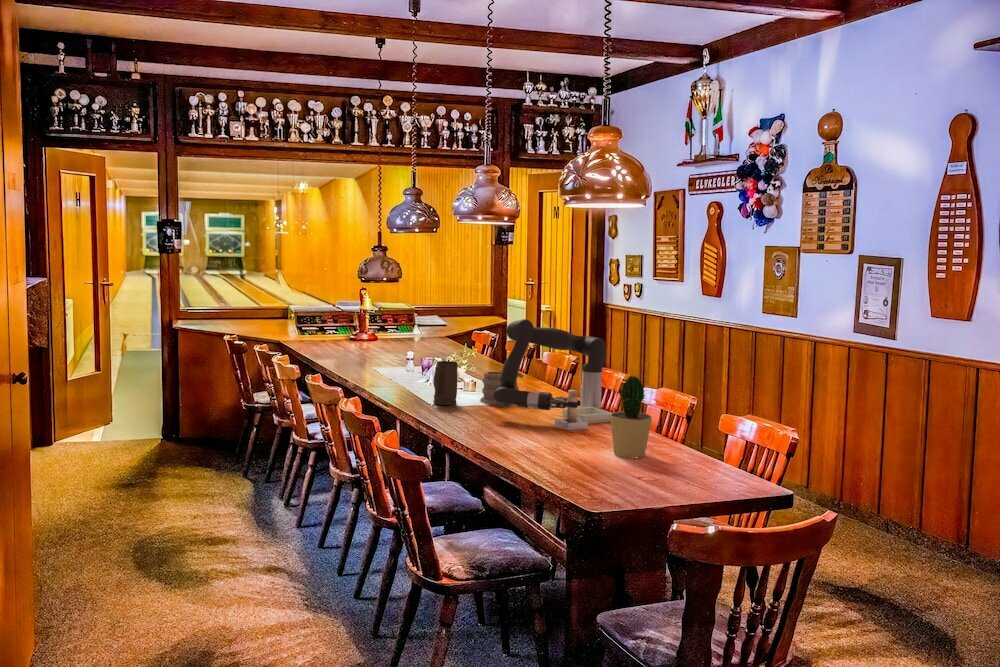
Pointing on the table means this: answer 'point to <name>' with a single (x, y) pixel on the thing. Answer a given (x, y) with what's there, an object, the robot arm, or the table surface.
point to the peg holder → (571, 424)
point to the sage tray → (591, 414)
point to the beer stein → (445, 383)
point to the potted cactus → (631, 421)
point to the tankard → (493, 386)
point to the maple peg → (571, 411)
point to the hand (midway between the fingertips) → (578, 404)
